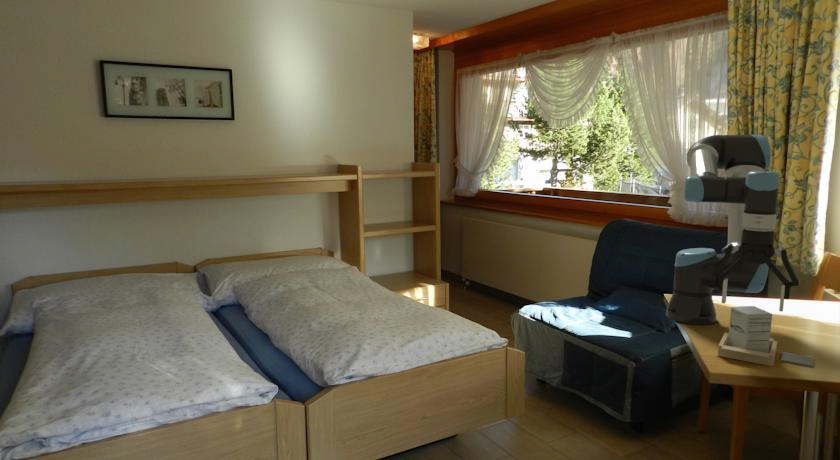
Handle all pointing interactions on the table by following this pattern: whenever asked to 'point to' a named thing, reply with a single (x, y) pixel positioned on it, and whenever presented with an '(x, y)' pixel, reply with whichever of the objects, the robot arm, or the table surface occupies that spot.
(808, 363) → the coaster
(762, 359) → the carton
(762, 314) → the supplement box
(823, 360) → the table surface
